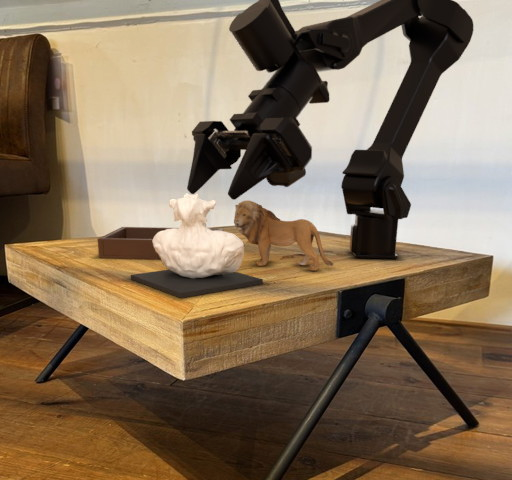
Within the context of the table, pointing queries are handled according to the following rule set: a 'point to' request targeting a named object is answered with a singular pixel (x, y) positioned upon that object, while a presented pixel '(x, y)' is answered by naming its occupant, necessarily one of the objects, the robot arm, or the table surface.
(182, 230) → the bust
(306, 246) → the lion figurine
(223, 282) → the charcoal mat
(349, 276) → the table surface
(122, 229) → the walnut tray
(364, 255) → the robot arm
